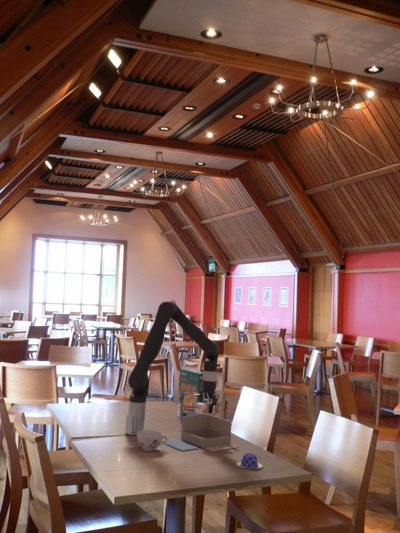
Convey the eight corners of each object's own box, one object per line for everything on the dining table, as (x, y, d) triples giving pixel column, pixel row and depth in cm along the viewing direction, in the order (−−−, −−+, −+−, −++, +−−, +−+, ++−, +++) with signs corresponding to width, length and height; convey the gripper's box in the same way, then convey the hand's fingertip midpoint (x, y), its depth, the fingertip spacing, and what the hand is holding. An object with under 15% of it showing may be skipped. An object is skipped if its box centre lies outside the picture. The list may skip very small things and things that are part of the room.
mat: (182, 451, 273) (182, 450, 273) (161, 442, 287) (161, 441, 287) (198, 449, 279) (198, 447, 279) (177, 440, 293) (177, 439, 293)
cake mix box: (204, 423, 340) (207, 373, 342) (196, 423, 337) (199, 373, 339) (185, 415, 358) (187, 368, 360) (177, 416, 355) (180, 368, 357)
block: (200, 414, 289) (200, 403, 289) (194, 412, 292) (195, 401, 293) (219, 412, 297) (220, 402, 297) (213, 411, 300) (214, 400, 301)
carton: (211, 451, 276) (213, 427, 276) (181, 439, 296) (182, 416, 297) (238, 447, 286) (239, 423, 287) (207, 436, 307) (208, 414, 307)
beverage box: (200, 435, 309) (203, 394, 310) (181, 435, 306) (184, 394, 308) (198, 432, 315) (200, 392, 317) (179, 432, 313) (181, 392, 314)
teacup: (137, 453, 265) (138, 436, 265) (134, 446, 277) (135, 430, 277) (168, 453, 268) (170, 436, 269) (163, 446, 280) (165, 430, 281)
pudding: (247, 471, 247) (247, 459, 247) (230, 464, 257) (231, 452, 257) (267, 468, 254) (268, 456, 254) (251, 461, 264) (251, 450, 264)
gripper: (195, 377, 299) (193, 410, 298) (212, 381, 288) (210, 415, 287) (206, 377, 304) (204, 409, 303) (223, 381, 292) (221, 414, 291)
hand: (207, 412), depth 295 cm, fingers closed on block, 4 cm apart
